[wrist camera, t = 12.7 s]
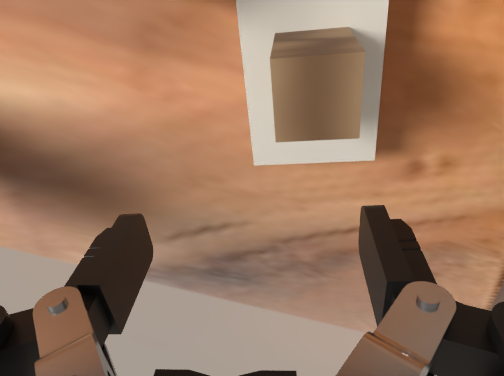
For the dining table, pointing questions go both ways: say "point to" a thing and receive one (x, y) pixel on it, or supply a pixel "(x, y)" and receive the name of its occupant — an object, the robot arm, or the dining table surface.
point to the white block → (259, 73)
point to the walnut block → (317, 85)
